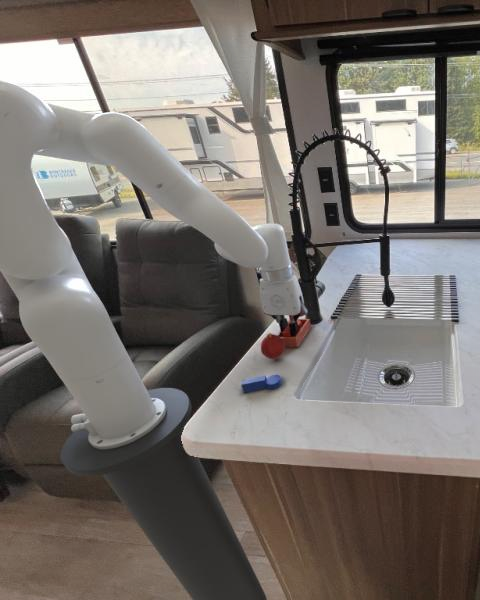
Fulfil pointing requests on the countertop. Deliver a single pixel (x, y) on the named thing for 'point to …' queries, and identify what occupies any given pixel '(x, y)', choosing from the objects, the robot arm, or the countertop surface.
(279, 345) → the onion
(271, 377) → the blue spoon
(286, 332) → the red spoon
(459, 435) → the countertop surface
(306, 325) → the red tub
